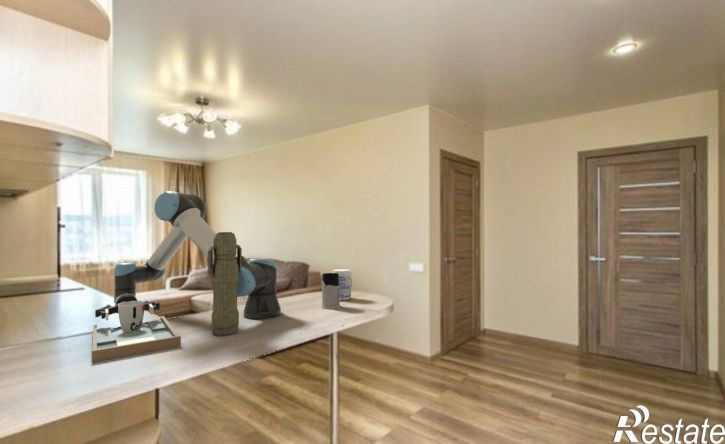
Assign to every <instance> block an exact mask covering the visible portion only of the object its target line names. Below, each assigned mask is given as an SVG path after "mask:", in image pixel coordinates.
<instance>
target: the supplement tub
mask: <svg viewBox="0 0 725 444" xmlns="http://www.w3.org/2000/svg"><path fill="white" fill-rule="evenodd" d="M332 273H338V274H339V285H342V280H343V278H344V277H346V276H347V277H346V278H344V280H343V285H342V286H339V300H340V299H341V298H342V297H343V296H345V295H346V294H347V293H348V291H349V289H350V287H351V289H350V291H349V293H348V294H347V295H346V296H345V297H344V298H342V299H341V300H340V301H348V300H349V301H350V300H351V298H352V286H351V279H352V269H346V268H341V269H340V268H338V269H337V268H336V269H333V270H332ZM348 277H350V278H351V279H350V278H348Z"/></svg>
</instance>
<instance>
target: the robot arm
mask: <svg viewBox="0 0 725 444" xmlns="http://www.w3.org/2000/svg"><path fill="white" fill-rule="evenodd" d="M153 209H154V214H155V215H156V218H158V219H159V220H160V221H163V222H168V223H170V224H171V226H172V227H171V229H169V232H168V233H167V234H166V235H165V237H164V238H163V239H162V241H161V242H160V244H159V245H158V246H157V248H156V249H155V250H154V252H153V253H152V254H151V256H150V257H149V258H148V260H147V261H146V262H145V264H143V265H136V263H135V262H120V263H117V264H115V265H114V297H113V303H114V306H113V305H112V304H106V305H105V306H101V307H99V308H97V309H95V311H94V315H95V318H99V317H100V318H101V320H103V319H105V321H109V316H110V315H115V314H119V313H118V304H120V303H124V302H131V301H139V300H138V299H137V295H136V293H137V292H136V290H137V289H136V288H137V287H136V286H137V284H141V283H148V282H153V281H157V280H160V279H162V278H163V277H164V275H165V272H166V269H165V268H166V266H167V265H168V263H169V262H170V261H171V260H172V258H173V257H174V255H175V254H176V253H177V252H178V251H179V249H180V247H181V246H182V245H183V244H184V242H185V241H186V240H187V239H188V238H189V239H190V240H191V241H192V243H194V244H195V246H196V247H197V248H198V249H199V251H200V252H201V253H203V255H204V256H205V257H206V258H207V259H208V250H209V248H210V247H212V246H213V245H214V238H215V235H216V234H217V233H216V231H214V230H213V228H212V227H211V226H210V225H209V224H208V223H207V221H205V217H206V214H207V204H206V203H205V201H204V200H203V198H202V197H201V196H199V195H197V194H193V193H183V192H179V191H173V190H172V191H164V192H162V193H160V194H159V195H158V196H157V198H156V199H155V202H154V208H153ZM236 258H237V254H236ZM213 263H214V250H213ZM277 269H278V268H277V262H276V261H275V260H273V259H254V258H253V259H252V258H251V259H248V260H247V259H246V258H245V257H244V255H242V270H241V273H240V274H239V275H238V283H237V298H241V297H246V296H247V299H246V302H245V306H244V309H243V317H244V318H247V319H252V320H253V319H254V320H255V319H256V320H257V319H259V320H261V319H268V318H269V319H270V318H274V317H278V316H280V315H281V313H282V307H281V306H280V301H279V299H278V296H277V295H278V293H277V292H278V291H277V281H278V280H277V278H278V277H277ZM143 301H144V302H145V307H144V311H148V312H149V313H150V315H154V312H155V311H157V310H160V308H161V305H160V302H156V301H149V300H146V299H145V300H143Z"/></svg>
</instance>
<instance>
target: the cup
mask: <svg viewBox="0 0 725 444" xmlns="http://www.w3.org/2000/svg"><path fill="white" fill-rule="evenodd" d="M144 301H145V300H138V301H131V302H124V303H120V304H118V313H117V314H118V319H119V324H120V328H121V330H122V334H125V333H131V332H138V331H141V328H142V325H143V321H144V318H145V317H144V315H145V310H144V307H145V302H144Z"/></svg>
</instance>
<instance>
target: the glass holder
mask: <svg viewBox="0 0 725 444" xmlns="http://www.w3.org/2000/svg"><path fill="white" fill-rule="evenodd" d="M346 277H347V276H346ZM346 277H344V278H346ZM344 278H343V280H344ZM348 278H350V277H348ZM350 279H351V287H350V289H351V290H352V286H353V281H352V280H353V279H352V277H351V278H350ZM343 280H342V285H343ZM342 285H339V274H338V273H333V272H328V273H327V272H326V273H322V279H321V306H320V307H321V309H324V310H335V309H339V308H341V305H340V303H341V301H342V300H341V299H342V298H344V297H345V296H346V295H347V294H348V293H349V291H350V289H349V291H348V293H347V294H346V295H345V296H343V297H342V298H341V299H340V300H339V286H342Z"/></svg>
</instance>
